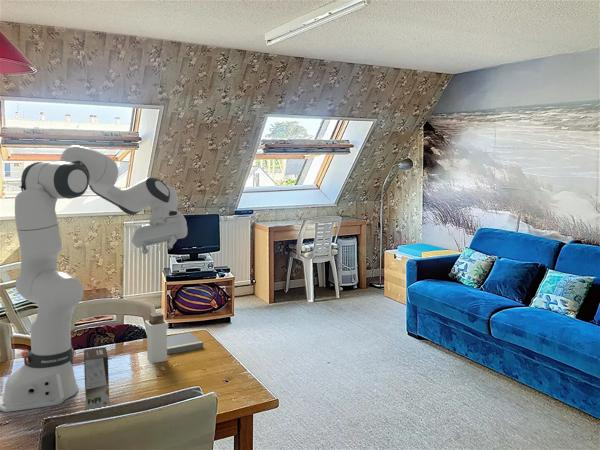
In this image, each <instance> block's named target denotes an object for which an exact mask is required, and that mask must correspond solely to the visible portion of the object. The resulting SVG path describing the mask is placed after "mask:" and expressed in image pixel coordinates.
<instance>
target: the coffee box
mask: <svg viewBox="0 0 600 450" xmlns="http://www.w3.org/2000/svg"><path fill="white" fill-rule="evenodd" d="M108 355H109V354H108V351H107V348H106V346H103V347H96V348H91V349H84V350H83V362H84V363H83V367H84V368H83V370H84V371H83V372H84V395H85V409H86V411H87V410H89V409H95V408H101V407H106V406H109V407H110V383H109V382H110V381H109V380H110V378H109V356H108Z"/></svg>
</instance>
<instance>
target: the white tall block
mask: <svg viewBox="0 0 600 450" xmlns="http://www.w3.org/2000/svg"><path fill="white" fill-rule="evenodd" d="M144 327H145V328H146V343H147V345H146V347H147V349H146V350H147V351H146V352H147V360H148V361H149V362H150V363H151V364H157V363H160V362H161V363H162V362H166V361H168V354H167V336H168V335H167V334H168V333H167V332H168V331H167V330H168V329H169V322H168V321H167V320H165V319H164V323H161V324H155V325H151V324H150V323H149V319H148V320H145V321H144Z"/></svg>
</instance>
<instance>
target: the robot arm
mask: <svg viewBox="0 0 600 450" xmlns="http://www.w3.org/2000/svg"><path fill="white" fill-rule="evenodd" d="M118 168H119V167H118V165H117V162H116V161H115V160H114V159H113V158H111V157H109V155H106V154H104V153H102V152H99V151H98V150H94V149H92V148H89V147H85V146H80V145H71V146H68V147H67V148H65V150H63V152H62V153H61V156H60V159H59V161H44V162H43V161H37V162H33V163H31V164H29V165H27V166H26V167H25V168H24V170H23V171H22V174H21V178H20V179H21V180H20V183H21V185H20V189H21V192H19V193H17V195H16V197H15V199H14V220H15V221H14V222H15V228H16V233H17V237H18V242H19V249H20V271H19V274H18V275H17V277H16V280H15V289H16V291H17V293H18V295H19V294H20V296H21V297H23V298H24V299H25V300H26V301H28V302H31V303H33V304H37V314H36V318H35V320H34V322H33V323H32V324H31V326H30V344H31V345H30V347H31V348H30V349H31V350H30V351H28V350H27V349H25V350H23V351H22V352H21V357H22V358H23V362H24V364H23V365H21V366H20V368H18V369H17V370H16V371H14V372H13V373H11V374H10V376H8V378H7V380H6V382H5V384H4V385H5V386H4V390H3V391H1V392H0V411H1V412H4V413H9V412H15V411H17V412H18V411H23V410H30V409H38V408H44V407H51V406H52V407H53V406H58V405H61V404H62V403H64V402H65V400H67V399H69V398H71V397H73V396H75V395H76V394H77V393H78V391H79V386H78V383H77V380H76V376H75V371H74V367H73V366H74V348H73V346H72V337H71V336H72V333H71V332H72V331H71V330H72V329H71V328H72V327H71V323H72V317H73V313H74V310H75V308H76V306H78V305H79V303H80V302H81V301H82V299H83V295H84V286H83V284H82V282H81V281H80V280H78V279H77V278H76V277H74V276H73V275H72V274H69V273H66V272H63V271H60V270H58V265H57V263H58V256H59V254H60V252H62V250H63V244H62V240H61V239H62V238H61V233H60V227H59V221H58V216H57V212H56V204H57V201H58V199H59V200H60V199H68V200H69V199H76V198H78V197H81V196H83V195H84V194H85V193H86V192H87V190H88V187H89V190H91V192H93V193H94V194H95V195H97V196H99V197H100V198H102V199H103V200H105V201H107V202H109V203H111V204H112V205H114V206H116V207H118V208H119V209H120V211H122V212H124V213H125V214H127V215H130V216H135V215H137V214H138V213H140V212H141V211H143V210H145V209H147V208H149V207H150V208H151V213H150V217H149V222H148V223H147V224H144V225H140V226H139V227H137V228H136V229H135V231H134V232H133V235H132V238H131V243H132V245H133V246H134V247H136V249H137V248H138V249H139V248H141V253H142V254H143V255H146V254H149V249H148V248H147V247H148V246H152V245H158V244H162V243H166V248H167V249H168V250H170V249H173V247H174V245H175V243H177V240H179V239H180V240H181V239H185V238H186V237H187V236H188V224H187V220H186V218H185V216H184V215H183V213H182V212H181V211H180V210H177V208H178V194H177V191H176V189H175V188H174V187H173V186H171V185H169V184H166V183H165V182H163V181H162V180H160V179H158V178H157V177H153V176H149V177H146V178H145V179H142V180H140V181H139V182H137V183H135V184H132V185H131V186H130V187H126V188H122V189H120V188H118V187H117V186H115V185H116V183H117V180H118V178H119V169H118Z"/></svg>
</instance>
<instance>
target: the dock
mask: <svg viewBox="0 0 600 450" xmlns="http://www.w3.org/2000/svg"><path fill="white" fill-rule="evenodd" d="M202 348H204V342H203V340H202V341H201V340H200V339H199V338H198V337H196V336H195V335H194V334H193V333H191V332H186V333H177V334H172V335H169V336H168V335H167V355H170V354H171V355H172V354H177V353H181V352H187V351H192V350H198V349H202Z"/></svg>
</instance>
